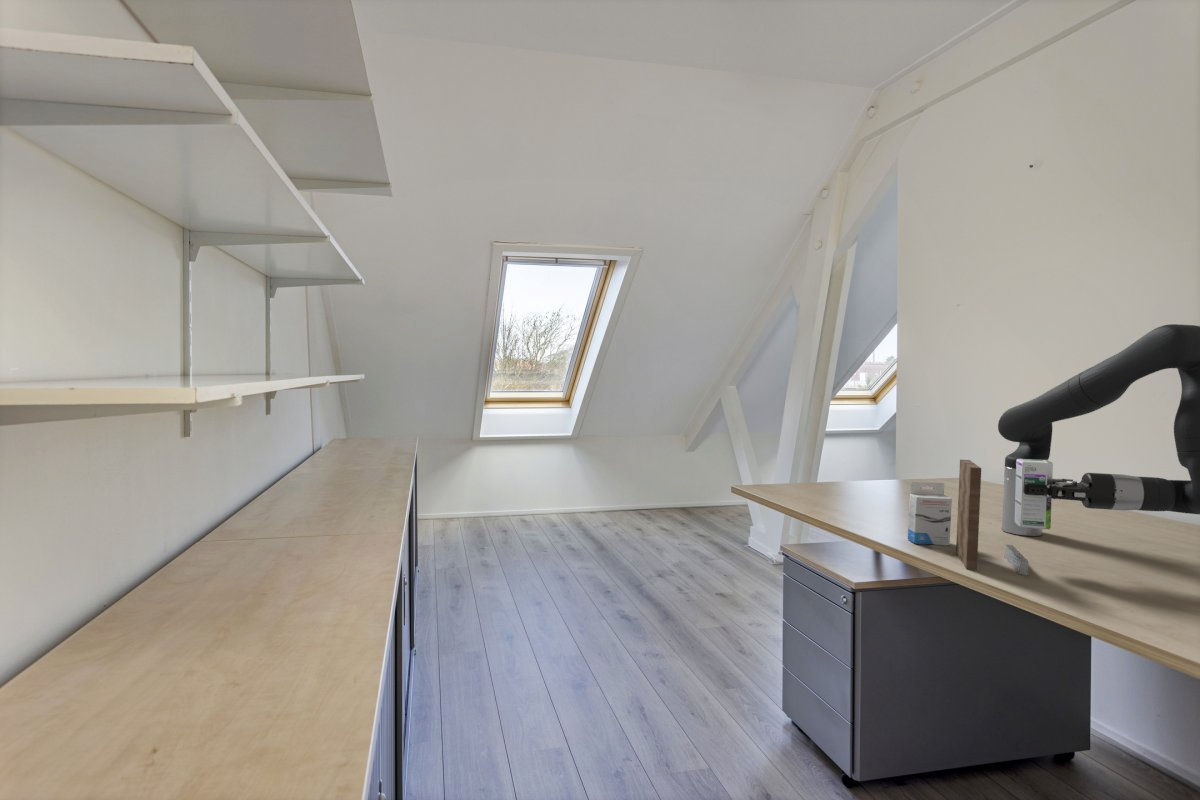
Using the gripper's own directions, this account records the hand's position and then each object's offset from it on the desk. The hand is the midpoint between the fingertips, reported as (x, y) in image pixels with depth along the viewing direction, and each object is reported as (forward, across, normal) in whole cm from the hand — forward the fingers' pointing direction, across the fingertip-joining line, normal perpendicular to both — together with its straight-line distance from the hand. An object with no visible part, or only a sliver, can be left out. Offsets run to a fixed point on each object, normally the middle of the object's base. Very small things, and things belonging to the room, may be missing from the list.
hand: (1020, 486), depth 151 cm
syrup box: (-2, 0, +9) cm, 9 cm away
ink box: (+16, -15, +18) cm, 28 cm away
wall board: (+5, 0, +18) cm, 18 cm away
